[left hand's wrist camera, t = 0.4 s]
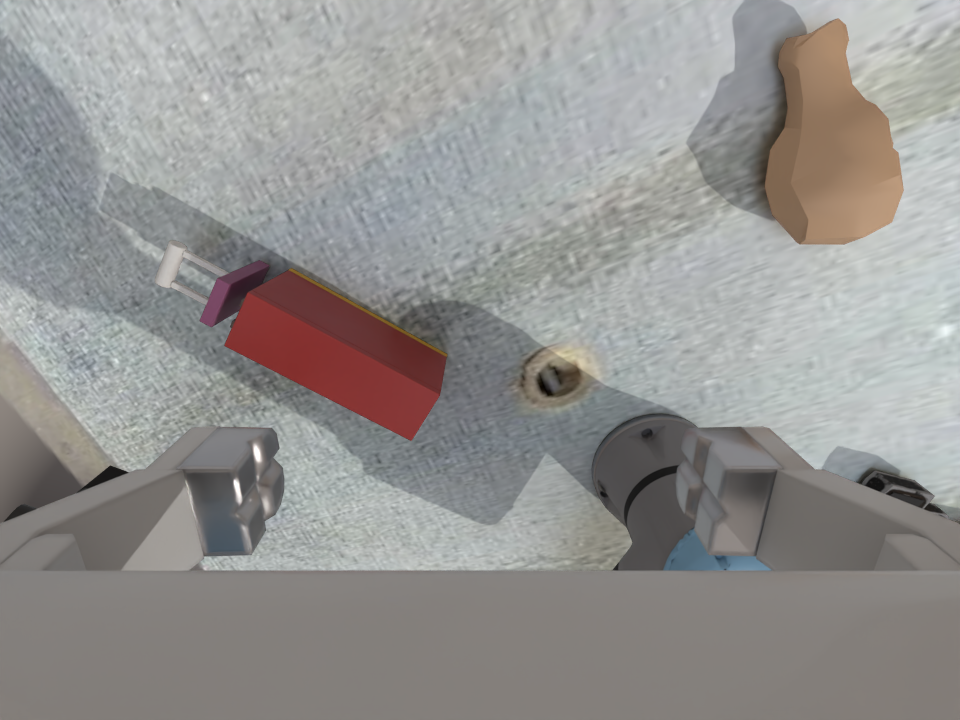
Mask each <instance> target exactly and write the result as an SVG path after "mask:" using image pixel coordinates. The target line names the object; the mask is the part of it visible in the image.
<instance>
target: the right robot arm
mask: <svg viewBox="0 0 960 720" xmlns="http://www.w3.org/2000/svg"><path fill="white" fill-rule="evenodd" d="M690 428H698V427H696V426H695V425H694V424H692V423H691V422H689V421H687V420H685V419H683V418H680V417H677V416H672V415H666V414H653V415H646V416H642V417H638V418H635V419H632V420H630V421H628V422H626V423H624V424H622V425H621V426H619V427H617V428H616V429H615V430H614V431H612V432H611V433H610V434H609V435H608V436H607V437H606V438H605V439H604V441H603V442H602V443H601V445H600V446H599V448H598V450H597V452H596V454H595V457H594V461H593V466H592V478H593V483H594V486H595V488H596V491H597V494H598V496H599V498H600V500H601V501H602V503H603V504H604V506H605V507H606V508H607V509H608V510H609V511H610V512H611V513H612V514H613V515H614V516H615V517H616V518H617V519H618V520H619V521H620V522H621V523H622V524H623V525H625V526H626V527H627V529H628V532H629V534H630V537H631V539H632V545H631V547H630V549H629V550H628V551H627V552H626V554H625V555H624V556H623V557H622V559H621V560H620V561H619V563H618V564H617V565H616V567H615V568H614V569H613V570H612V571H658V570H771V569H770V568H768V567H767V566H765V565H764V564H763V563H761V562H760V561H759V560H757V559H756V556H724V555H708V553H707V551H706V550H705V548H704V546H703V545H702V543H701V541H700V540H699V538H698V536H697V535H696V533H695V531H694V527H695V521H694V520H693V519H691V518H689V517H688V516H686V515H685V514H684V512H683V511H682V509H681V507H680V505H679V502H678V498H677V493H676V483H675V482H676V474H677V467H678V466H679V465H680V464H681V463H682V462H683V461H684V460H685V459H686V456H685V454H684V453H683V451H682V450H681V442H682V437H683V435H684V432H685V430H686V429H690ZM127 473H129V472H126V471H124V470H121V469H118V468H116V467H113V466H109V467H108V468H107V469H105V470H104V471H103V472H102V473H101V474H99V475H98V476H97V477H96V478H94V479H93V480H92V481H91V482H89V483H88V484H87V485H86V486H84V487H83V488H82V489H81V490H80V491H78V492H77V493H79V492H81V491H84V490H86V489H89V488H91V487H94V486H96V485H99V484H101V483H104V482H106V481H109V480H111V479H114V478H117V477H119V476H122V475H124V474H127ZM36 509H38V508H34V507H32V506H29V505H26V504H23V505H20V506H19V507H17V508H16V509H15V510H14V511H13V512H12V513H11V514H10V515H9V517H8V518H7V519H6V520H5V521H8V520H10V519H13V518H15V517H18V516H20V515H23V514H25V513H28V512H31V511H33V510H36ZM5 521H4V522H5Z"/></svg>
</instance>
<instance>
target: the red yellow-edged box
mask: <svg viewBox="0 0 960 720" xmlns="http://www.w3.org/2000/svg"><path fill="white" fill-rule="evenodd" d="M224 346H226V347H228V348H230V349H232V350H234V351H236V352H238V353H239V354H241V355H243V356H245V357H247V358H249V359H251V360H253V361H255V362H257V363H259V364H261V365H263V366H265V367H267V368H269V369H271V370H273V371H275V372H277V373H279V374H281V375H283V376H285V377H287V378H289V379H291V380H293V381H294V382H296V383H298V384H300V385H302V386H304V387H306V388H308V389H310V390H312V391H314V392H316V393H318V394H320V395H322V396H324V397H326V398H328V399H330V400H332V401H334V402H336V403H338V404H340V405H342V406H344V407H346V408H348V409H350V410H351V411H353V412H355V413H357V414H359V415H361V416H363V417H365V418H367V419H369V420H371V421H373V422H375V423H377V424H379V425H381V426H383V427H385V428H387V429H389V430H391V431H393V432H395V433H397V434H399V435H401V436H403V437H405V438H406V439H408V440H410V441H411V440H412V439H413V438H414V436H415V434H416V433H417V431H418V430H419V428H420V426H421V425H422V423H423V422H424V420H425V418H426V417H427V415H428V414H429V412H430V410H431V409H432V407H433V406H434V404H435V402H436V401H437V399H438V398H439V396H440V392H441V386H442V381H443V375H444V369H445V364H446V358H447V354H446V353H444V352H442V351H441V350H439V349H437V348H435V347H433V346H432V345H430V344H428V343H426V342H424V341H422V340H421V339H419V338H417V337H415V336H413V335H412V334H410V333H408V332H406V331H404V330H403V329H401V328H399V327H397V326H395V325H394V324H392V323H390V322H388V321H386V320H384V319H383V318H381V317H379V316H377V315H375V314H374V313H372V312H370V311H368V310H366V309H365V308H363V307H361V306H359V305H357V304H355V303H354V302H352V301H350V300H348V299H346V298H345V297H343V296H341V295H339V294H337V293H336V292H334V291H332V290H330V289H328V288H327V287H325V286H323V285H321V284H319V283H317V282H316V281H314V280H312V279H310V278H308V277H307V276H305V275H303V274H301V273H299V272H298V271H296V270H294V269H292V268H291V269H289V270H288V271H286V272H284V273H282V274H280V275H279V276H277V277H275V278H273V279H271V280H269V281H268V282H266V283H264V284H262V285H260V286H258V287H257V288H255V289H253V290H251V291H249V292H248V293H247V295H246V297H245V299H244V302H243V304H242V306H241V309H240V311H239V313H238V315H237V318H236V320H235V322H234V324H233V327H232V329H231V331H230V333H229V336H228V338H227V340H226V343H225V345H224Z"/></svg>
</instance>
